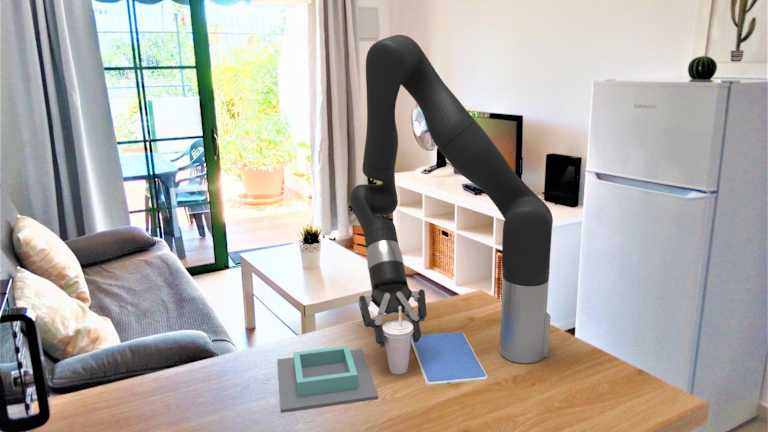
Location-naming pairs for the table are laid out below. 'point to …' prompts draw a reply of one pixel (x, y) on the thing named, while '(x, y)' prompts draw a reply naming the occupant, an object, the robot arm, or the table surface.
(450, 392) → the table surface
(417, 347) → the tablet computer
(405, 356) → the smoothie
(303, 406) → the holder
